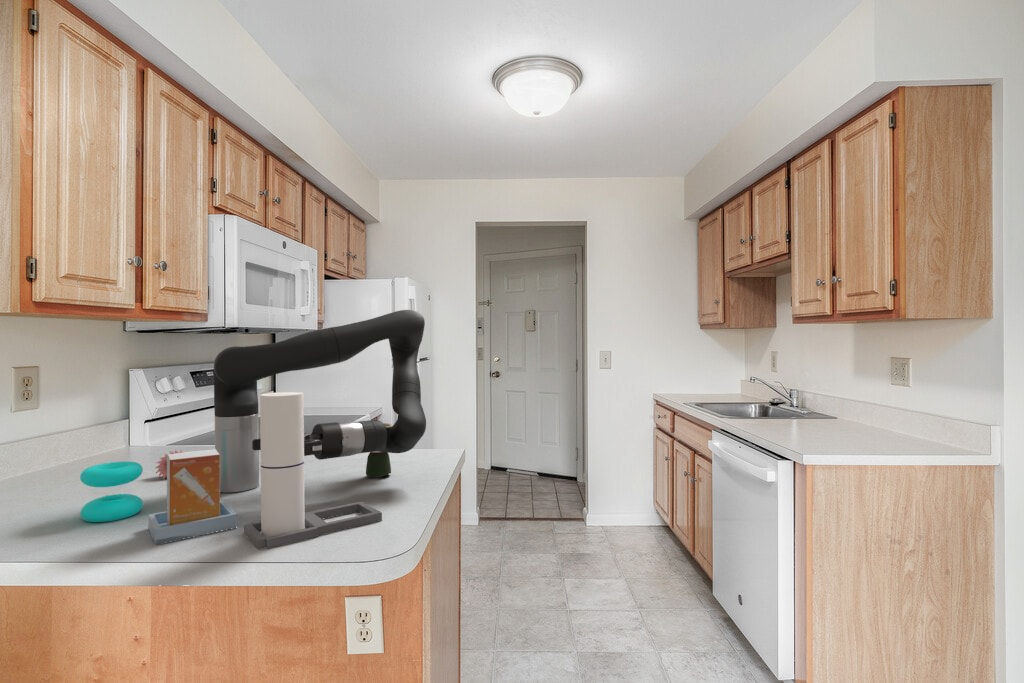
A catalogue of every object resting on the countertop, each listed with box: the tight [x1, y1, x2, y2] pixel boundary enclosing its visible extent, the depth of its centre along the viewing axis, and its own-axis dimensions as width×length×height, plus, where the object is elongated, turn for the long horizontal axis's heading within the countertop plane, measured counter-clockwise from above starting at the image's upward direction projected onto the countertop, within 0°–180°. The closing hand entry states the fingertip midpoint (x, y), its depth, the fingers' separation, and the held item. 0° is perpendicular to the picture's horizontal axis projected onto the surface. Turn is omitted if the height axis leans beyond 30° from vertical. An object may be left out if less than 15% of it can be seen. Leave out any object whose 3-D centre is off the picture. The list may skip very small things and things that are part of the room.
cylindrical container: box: [259, 391, 306, 538], centre depth 97 cm, size 7×7×25 cm
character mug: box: [365, 422, 393, 478], centre depth 137 cm, size 11×7×13 cm, turn 82°
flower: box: [155, 449, 183, 480], centre depth 139 cm, size 8×8×6 cm
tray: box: [147, 500, 238, 546], centre depth 100 cm, size 11×13×3 cm
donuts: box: [79, 461, 144, 523], centre depth 108 cm, size 10×10×10 cm
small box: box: [166, 448, 221, 526], centre depth 100 cm, size 8×6×13 cm
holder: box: [243, 501, 383, 550], centre depth 100 cm, size 11×22×2 cm, turn 129°
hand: (258, 448), depth 107 cm, fingers open, 8 cm apart
